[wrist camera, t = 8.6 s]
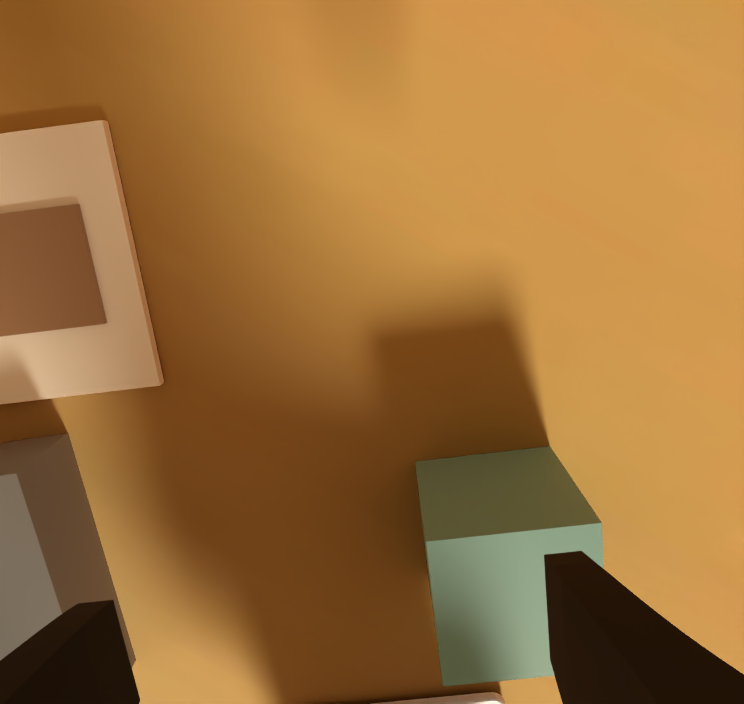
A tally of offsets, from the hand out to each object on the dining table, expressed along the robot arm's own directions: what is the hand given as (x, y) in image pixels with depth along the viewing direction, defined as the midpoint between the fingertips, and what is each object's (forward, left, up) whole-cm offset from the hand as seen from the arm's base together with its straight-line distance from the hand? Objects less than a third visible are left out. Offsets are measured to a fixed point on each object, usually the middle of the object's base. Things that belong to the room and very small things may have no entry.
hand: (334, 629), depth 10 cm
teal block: (-4, -4, -11) cm, 12 cm away
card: (+6, +9, -10) cm, 15 cm away
